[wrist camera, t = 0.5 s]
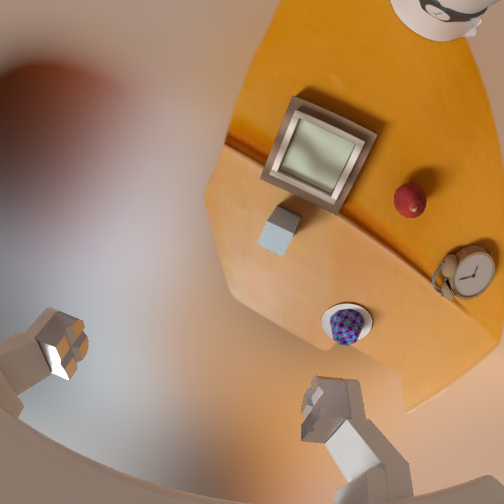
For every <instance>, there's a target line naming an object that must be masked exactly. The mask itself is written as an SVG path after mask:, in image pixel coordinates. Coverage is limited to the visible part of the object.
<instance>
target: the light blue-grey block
mask: <svg viewBox="0 0 504 504" xmlns="http://www.w3.org/2000/svg"><path fill="white" fill-rule="evenodd" d="M300 219H301V216H300V215H298V214H296V213H294V212H292V211H290V210H288V209H286V208H284V207H281V206H279V205H277V207H276V208H275V210H274V211H273V213H272V214H271V216H270V217H269V219H268V220H267V222H266V224H265V227H264V229H263V231H262V234H261V236H260V238H259V241H258V243H257V244H258V245H260V246H262V247H264V248H266V249H268V250H270V251H272V252H274V253H276V254H278V255H280V256H282V257H283V255H284V253H285V251H286V249H287V247H288V245H289V243H290V241H291V239H292V237H293V235H294V233H295V230H296V228H297V226H298V223H299V221H300Z"/></svg>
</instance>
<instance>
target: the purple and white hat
mask: <svg viewBox="0 0 504 504" xmlns="http://www.w3.org/2000/svg"><path fill="white" fill-rule="evenodd" d="M341 309H346V310H345V311H342V310H341ZM351 309H353V310H356V311H358V312H359V313H358V312H354V311H353V310H351ZM338 310H339V311H338ZM336 311H337V312H336ZM335 312H336V313H335ZM333 313H335V315H334V316H332V314H333ZM331 316H332V317H331ZM362 316H363V318H364V320H363V319H362ZM330 317H331V318H330ZM329 320H330V323H331V327H330V324H329ZM364 322H365V323H364ZM363 325H364V327H363ZM322 328H323V330H324V331H325V333H326V334H327V335H328V336H329V337H331V338H333V339H334V340H335V341H336V342H337V343H338V344H340V345H350V344H352V343H355V342H356V341H357V340H359V339H361V338H363V337H365V336H366V335H367V334H368V333H369V331H370V330H371V328H372V318H371V316H370V314H369V313H368V312H367V311H366V310H365V309H364V308H362V307H360V306H358V305H355V304H339V305H336V306H333V307H332V308H330V309H329V310H327V311H326V312H325V314H324V315H323V317H322Z"/></svg>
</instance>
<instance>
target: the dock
mask: <svg viewBox="0 0 504 504" xmlns="http://www.w3.org/2000/svg"><path fill="white" fill-rule="evenodd" d="M376 137H377V134H376V133H375V132H373V131H371V130H369V129H367V128H365V127H363V126H361V125H359V124H357V123H355V122H353V121H351V120H349V119H347V118H345V117H343V116H341V115H339V114H337V113H334V112H332V111H330V110H328V109H326V108H323V107H321V106H319V105H316V104H314V103H312V102H309V101H307V100H304V99H302V98H299V97H297V96H292V98H291V101H290V103H289V106H288V108H287V111H286V113H285V116H284V118H283V121H282V123H281V126H280V129H279V131H278V134H277V136H276V139H275V141H274V144H273V146H272V149H271V152H270V154H269V157H268V159H267V162H266V164H265V167H264V170H263V172H262V175H261V177H260V179H262V180H264V181H266V182H268V183H270V184H273V185H275V186H277V187H279V188H281V189H284V190H286V191H288V192H290V193H292V194H294V195H296V196H298V197H301V198H303V199H305V200H307V201H309V202H311V203H313V204H315V205H317V206H319V207H321V208H323V209H325V210H327V211H329V212H331V213H333V214H335V215H337V214H338V212H339V210H340V209H341V207H342V205H343V203H344V201H345V199H346V197H347V195H348V193H349V191H350V189H351V188H352V186H353V184H354V182H355V180H356V178H357V176H358V174H359V172H360V170H361V168H362V166H363V164H364V162H365V160H366V158H367V156H368V154H369V152H370V150H371V148H372V145H373V143H374V141H375V139H376Z"/></svg>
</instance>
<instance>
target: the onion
mask: <svg viewBox="0 0 504 504" xmlns="http://www.w3.org/2000/svg"><path fill="white" fill-rule="evenodd" d="M426 201H427V200H426V197H425V193H424V191H423V190H422V189H421V188H420V187H419V186H417V185H415V184H413V183H408V184H404V185H402V186H400V187H399V188H398V189H397V190H396V193H395V195H394V205H395V207H396V210H397V211H398V212H399V213H400V214H401V215H403V216H405V217H407V218H415V217H417V216H419V215H420V214H422V213H423V211H424V209H425V207H426Z"/></svg>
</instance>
